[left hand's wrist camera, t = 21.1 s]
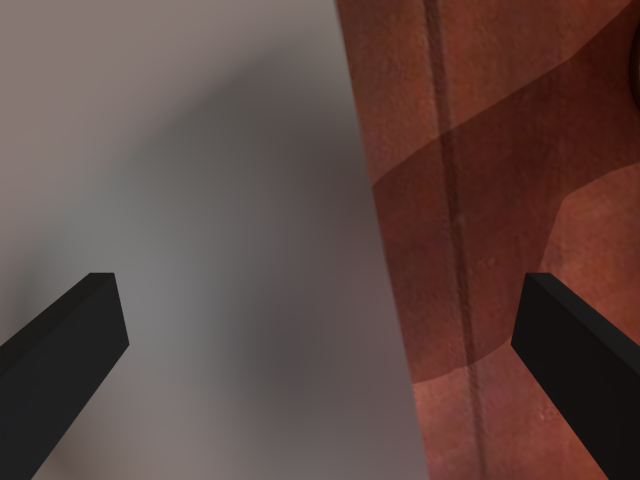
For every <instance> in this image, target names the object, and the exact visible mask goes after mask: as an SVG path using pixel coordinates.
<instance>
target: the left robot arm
mask: <svg viewBox="0 0 640 480" xmlns="http://www.w3.org/2000/svg"><path fill="white" fill-rule="evenodd" d="M630 81H631V87H632V91H633V95H634V98H635V100H636V103H637V105H638V107H639V108H640V26H639V28H638V31H637V34H636V37H635V40H634V44H633V48H632V53H631V59H630ZM128 346H129V340H128V335H127V331H126V326H125V322H124V317H123V312H122V307H121V303H120V298H119V294H118V289H117V284H116V279H115V275H114V273H89V274H88V275H87V276H85V277H84V278H83V279H82V280H81V281H79V282H78V283H77V284H76V285H75V286H73V287H72V288H71V289H70V290H68V291H67V292H66V293H65V294H64V295H62V296H61V297H60V298H59V299H58V300H56V301H55V302H54V303H53V304H51V305H50V306H49V307H48V308H47V309H45V310H44V311H43V312H42V313H40V314H39V315H38V316H37V317H36V318H34V319H33V320H32V321H31V322H30V323H28V324H27V325H26V326H25V327H23V328H22V329H21V330H20V331H19V332H17V333H16V334H15V335H14V336H12V337H11V338H10V339H9V340H8V341H6V342H5V343H4V344H3V345H1V346H0V480H31V479H32V477H33V476H34V475H35V473H36V472H37V471H38V469H39V468H40V466H41V465H42V464H43V462H44V461H45V460H46V458H47V457H48V456H49V454H50V453H51V451H52V450H53V449H54V447H55V446H56V445H57V443H58V442H59V441H60V439H61V438H62V436H63V435H64V434H65V432H66V431H67V429H68V428H69V427H70V425H71V424H72V423H73V421H74V420H75V419H76V417H77V416H78V414H79V413H80V412H81V410H82V409H83V408H84V406H85V405H86V403H87V402H88V401H89V399H90V398H91V397H92V395H93V394H94V393H95V391H96V390H97V389H98V387H99V386H100V384H101V383H102V382H103V380H104V379H105V377H106V376H107V375H108V373H109V372H110V371H111V369H112V368H113V367H114V365H115V364H116V362H117V361H118V360H119V358H120V357H121V356H122V354H123V353H124V351H125V350H126V349H127V347H128ZM511 346H512V347H513V349H514V350H515V352H516V353H517V354H518V356H519V357H520V358H521V360H522V361H523V362H524V364H525V365H526V367H527V368H528V369H529V371H530V372H531V373H532V375H533V376H534V378H535V379H536V380H537V382H538V383H539V384H540V386H541V387H542V389H543V390H544V391H545V393H546V394H547V395H548V397H549V398H550V399H551V401H552V402H553V404H554V405H555V406H556V408H557V409H558V410H559V412H560V413H561V415H562V416H563V417H564V419H565V420H566V421H567V423H568V424H569V425H570V427H571V428H572V430H573V431H574V432H575V434H576V435H577V436H578V438H579V439H580V441H581V442H582V443H583V445H584V446H585V447H586V449H587V450H588V451H589V453H590V454H591V456H592V457H593V458H594V460H595V461H596V462H597V464H598V465H599V467H600V468H601V469H602V471H603V472H604V473H605V475H606V476H607V477H608V479H609V480H640V346H639V345H637V344H636V343H635V342H634V341H632V340H631V339H630V338H629V337H628V336H626V335H625V334H624V333H623V332H621V331H620V330H619V329H618V328H617V327H615V326H614V325H613V324H612V323H611V322H609V321H608V320H607V319H606V318H604V317H603V316H602V315H601V314H600V313H598V312H597V311H596V310H595V309H593V308H592V307H591V306H590V305H589V304H587V303H586V302H585V301H584V300H583V299H581V298H580V297H579V296H578V295H576V294H575V293H574V292H573V291H572V290H570V289H569V288H568V287H567V286H565V285H564V284H563V283H562V282H561V281H559V280H558V279H557V278H556V277H555V276H553V275H552V274H551V273H526V275H525V279H524V284H523V289H522V293H521V298H520V303H519V307H518V312H517V317H516V321H515V326H514V331H513V335H512V340H511Z"/></svg>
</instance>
